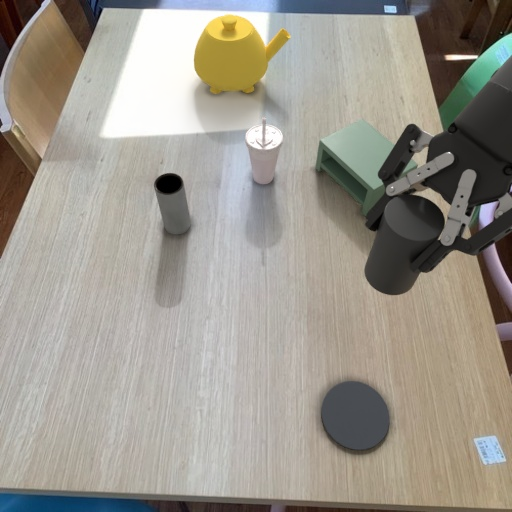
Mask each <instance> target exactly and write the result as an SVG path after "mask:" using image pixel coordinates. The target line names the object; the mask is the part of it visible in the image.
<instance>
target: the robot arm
mask: <svg viewBox="0 0 512 512" xmlns="http://www.w3.org/2000/svg"><path fill="white" fill-rule="evenodd" d="M394 145H395V146H394V147H393V149H392V150H391V152H390V154H389V155H388V157H387V159H386V160H385V162H384V163H383V165H382V167H381V168H380V170H379V171H378V177H379V179H381V180H382V182H383V184H384V186H385V193H384V194H383V196H382V197H381V198H380V199H379V200H378V201H377V202H376V204H375V205H374V206H373V207H372V208H371V209H370V210H369V212H368V213H367V215H366V216H364V217H365V220H366V221H365V223H364V227H365V228H367V229H368V231H371V232H377V230H378V227H379V224H380V221H381V219H382V216H383V213H384V210H385V207H386V205H387V204H388V203H389V202H390V201H391V200H392V199H393V198H395V197H398V196H401V195H408V194H411V195H415V194H416V193H420V192H423V191H426V190H428V189H430V190H432V191H433V192H435V193H436V194H438V195H440V196H441V198H442V199H443V201H444V202H446V203H447V204H448V205H450V207H449V210H448V212H447V216H446V218H447V219H446V221H445V226H444V229H443V231H442V233H441V235H440V237H439V239H438V240H437V239H435V240H434V241H433V242H432V243H431V244H430V245H429V246H428V247H427V248H426V249H425V250H424V252H423V253H422V254H421V255H420V256H419V257H418V258H417V259H416V260H415V261H414V262H413V263H412V264H411V265H410V266H409V269H410V270H411V271H412V272H413V273H415V274H419V273H420V274H421V273H422V274H429V273H430V272H432V271H433V270H434V269H436V267H438V265H440V263H442V261H444V260H445V259H446V257H447V256H449V255H450V254H451V253H452V252H455V251H458V252H461V253H463V254H466V255H469V256H473V257H475V256H478V255H480V254H481V253H482V252H484V251H485V250H487V249H488V248H490V247H491V246H493V245H494V244H496V243H497V242H498V241H500V240H501V239H503V238H504V237H506V236H507V235H509V234H510V233H512V195H511V194H510V193H511V189H512V54H511V55H510V56H509V57H508V58H507V59H506V60H505V61H504V63H503V64H502V65H501V66H500V67H498V68H497V69H496V70H495V71H494V72H493V73H492V74H491V76H490V78H489V79H488V81H487V82H486V83H485V84H484V85H483V86H482V88H481V89H480V90H479V91H478V92H477V93H476V94H475V96H473V98H472V99H471V100H470V101H469V102H468V103H467V104H466V105H465V107H464V108H463V109H462V110H461V111H460V113H459V114H458V115H457V116H456V117H455V118H454V119H453V121H452V122H451V123H450V124H449V126H448V127H447V128H446V129H445V130H444V131H441V132H439V133H437V134H435V135H432V134H430V133H429V132H426V131H425V130H423V129H421V128H420V127H419V126H418V125H417V124H415V123H409V124H407V125H406V126H405V128H404V129H403V131H402V133H401V134H400V136H399V138H398V139H397V141H396V143H394ZM425 148H427V151H426V152H427V153H426V160H425V163H424V164H422V165H421V166H419V167H417V169H415V170H413V171H411V172H409V173H407V174H406V176H405V177H403V178H401V179H399V177H400V176H401V174H402V173H403V171H404V169H405V168H406V166H407V165H408V163H409V162H410V160H411V159H413V157H414V156H415V154H419V153H421V152H423V150H424V149H425ZM496 202H499V205H498V207H497V208H496V210H495V211H494V213H493V217H494V219H493V220H492V221H491V222H489V223H487V225H485V226H484V227H482V228H481V229H480V230H478V231H477V232H475V233H474V234H473V235H471V236H470V237H468V238H464V235H465V232H466V230H467V227H468V226H469V225H470V223H471V221H472V219H473V216H474V213H475V210H476V208H477V207H478V206H479V207H480V206H483V205H488V204H493V203H496ZM420 274H419V275H420Z"/></svg>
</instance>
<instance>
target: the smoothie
mask: <svg viewBox="0 0 512 512" xmlns="http://www.w3.org/2000/svg"><path fill="white" fill-rule="evenodd" d="M261 119H262V120H261V121H262V122H261V124H257V125H253V126H252V127H250V128H249V129H248V130H247V131H246V133H245V139H244V143H245V146H246V148H247V150H248V155H249V161H250V166H251V172H252V178H253V180H254V182H255V183H257V184H258V185H268V184H270V183H272V181H273V180H274V177H275V173H276V172H275V171H276V167H277V163H278V159H279V154H280V150H281V148H282V146H283V144H284V136H283V133H282V131H281V130H280V129H279V128H278V127H276V126H274V125H272V124H267V118H266V117H265V116H262V118H261Z"/></svg>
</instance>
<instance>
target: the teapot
mask: <svg viewBox="0 0 512 512" xmlns="http://www.w3.org/2000/svg"><path fill="white" fill-rule="evenodd" d="M291 36H292V35H290V33H289V32H288V30H286V29H285V28H283V27H281V28H280V30H279V31H278V32H277V33H276V34H275V35H274V37H273V38H272V39H271V40H270V41H269V43H268V44H267V45H266V44H265V42H264V39H263V38H262V36H261V34H260V33H259V31H258V30H257V29H256V27H255V26H254V24H252V22H251V21H250V20H248V19H247V18H245V17H242V16H240V15H235V14H224V15H220V16H217V17H215V18H213V19H211V20H210V21H208V23H207V24H206V26H205V27H204V28H203V30H202V32H201V34H200V36H199V38H198V40H197V43H196V45H195V49H194V55H193V68H194V70H195V73H196V75H197V76H198V77H199V79H200V80H201V81H202V82H204V83H205V84H206V85H207V86H209V87H210V88H209V92H210V93H212V94H214V95H216V94H217V95H218V94H221V93H222V92H238V91H239V92H240V91H242V92H243V93H245V94H249V93H253V92H254V91H255V87H254V85H255V84H257V83H258V82H259V81H261V80H262V78H263V77H264V76H265V75H266V73H267V71H268V67H269V62H270V61H271V60H272V59H273V58H274V57H275V56H276V54H277V53H278V52H279V51H280V50H281V49H282V48H283V47H284V46H285V44H287V42H288V41H289V40H290V39H291V38H292V37H291Z"/></svg>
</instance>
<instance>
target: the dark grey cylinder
mask: <svg viewBox="0 0 512 512" xmlns="http://www.w3.org/2000/svg"><path fill="white" fill-rule="evenodd" d="M445 218H446V217H445V214H444V213H443V211H442V209H441V208H440V207H439V205H437V204H436V203H435V202H433V201H432V200H431V199H430V198H429V199H428V198H427V197H425V196H422V195H417V194H412V195H411V194H408V195H401V196H398V197H395V198H393V199H392V200H391V201H390V202H389V203H388V204H387V205H386V207H385V210H384V213H383V216H382V219H381V221H380V224H379V227H378V230H377V231H376V233H375V236H374V239H373V242H372V245H371V248H370V250H369V253H368V256H367V258H366V262H365V264H364V270H363V271H364V276H365V279H366V281H367V283H368V284H369V286H371V287H372V288H373V289H374V290H375V291H376V292H379V293H381V294H384V295H386V296H400V295H403V294H406V293H408V292H409V291H410V290H411V289H412V288H413V287H414V286H415V284H416V282H417V280H418V278H419V276H420V274H421V273H419V274H415V273H413V272H412V271H411V270H410V269H409V266H410V265H411V264H412V263H413V262H414V261H415V260H416V259H417V258H418V257H419V256H420V255H421V254H422V253H423V252H424V250H425V249H426V248H427V247H428V246H429V245H430V244H431V243H432V242H433V241H434V240H435V239H437V240H440V238H441V235H442V232H443V230H444V227H445V225H446V219H445Z"/></svg>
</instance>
